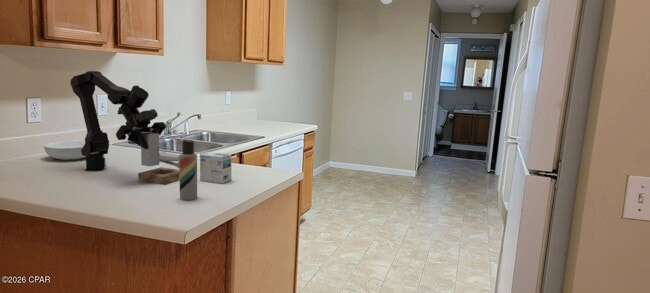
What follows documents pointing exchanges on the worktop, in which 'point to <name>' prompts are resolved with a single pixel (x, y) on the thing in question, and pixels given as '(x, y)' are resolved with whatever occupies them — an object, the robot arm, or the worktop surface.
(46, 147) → the serving bowl
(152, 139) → the steel peg
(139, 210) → the worktop surface
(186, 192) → the lotion bottle
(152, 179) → the wooden square hole board
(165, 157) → the grey metal cylinder
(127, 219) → the worktop surface
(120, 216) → the worktop surface
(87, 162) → the robot arm
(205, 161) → the light bulb box
